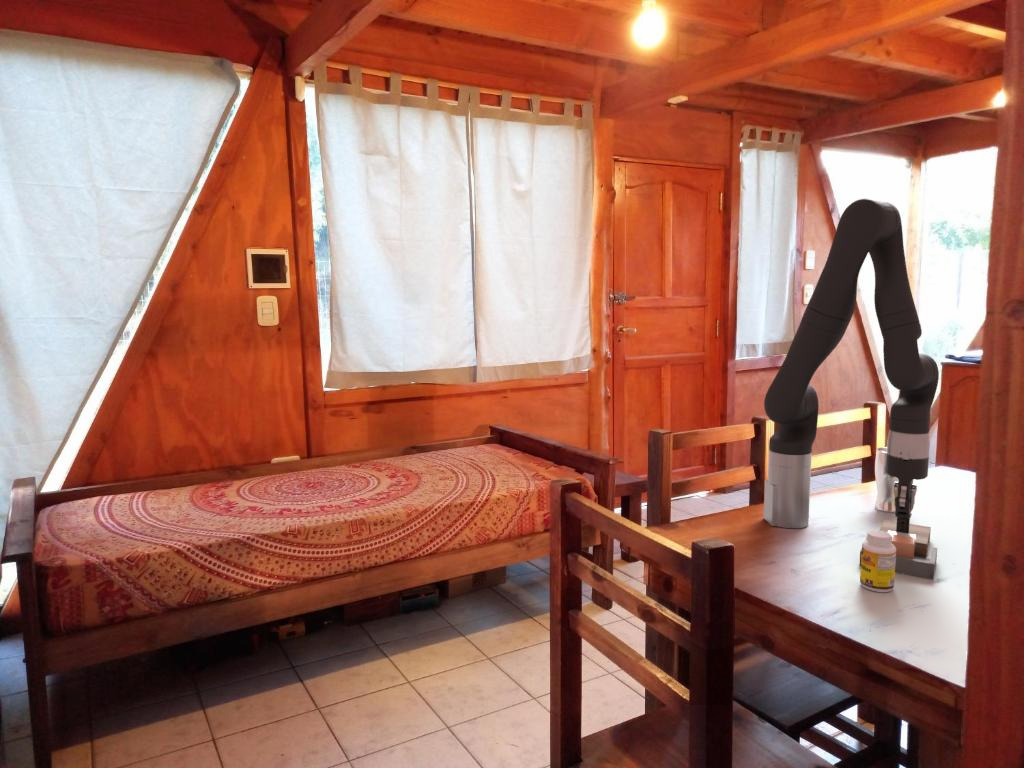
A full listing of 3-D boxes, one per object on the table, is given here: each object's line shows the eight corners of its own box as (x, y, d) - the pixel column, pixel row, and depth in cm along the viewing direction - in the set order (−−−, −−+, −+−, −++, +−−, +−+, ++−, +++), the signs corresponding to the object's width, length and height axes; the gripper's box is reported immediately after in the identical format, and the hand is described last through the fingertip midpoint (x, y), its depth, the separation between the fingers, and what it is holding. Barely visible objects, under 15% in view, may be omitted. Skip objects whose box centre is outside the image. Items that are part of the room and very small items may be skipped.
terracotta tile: (886, 533, 139) (884, 539, 137) (915, 537, 136) (913, 544, 135) (885, 554, 141) (883, 561, 139) (913, 559, 138) (912, 566, 136)
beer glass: (910, 513, 169) (913, 453, 167) (880, 513, 170) (883, 453, 168) (896, 505, 176) (899, 446, 174) (867, 505, 177) (871, 446, 175)
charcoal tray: (866, 550, 146) (866, 536, 146) (936, 562, 139) (937, 547, 139) (859, 565, 138) (860, 551, 138) (933, 579, 131) (934, 564, 131)
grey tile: (887, 540, 145) (887, 530, 144) (915, 545, 142) (915, 534, 141) (884, 553, 141) (885, 543, 140) (913, 558, 138) (913, 547, 137)
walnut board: (883, 532, 156) (883, 520, 156) (929, 540, 152) (930, 527, 151) (876, 549, 147) (877, 536, 146) (926, 558, 142) (927, 544, 141)
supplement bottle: (855, 580, 132) (858, 528, 130) (886, 581, 131) (889, 528, 130) (866, 593, 126) (869, 538, 125) (898, 594, 125) (902, 539, 124)
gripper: (889, 444, 149) (885, 522, 151) (883, 457, 138) (878, 541, 140) (930, 448, 145) (925, 529, 147) (927, 462, 134) (921, 548, 136)
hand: (902, 535), depth 144 cm, fingers closed
